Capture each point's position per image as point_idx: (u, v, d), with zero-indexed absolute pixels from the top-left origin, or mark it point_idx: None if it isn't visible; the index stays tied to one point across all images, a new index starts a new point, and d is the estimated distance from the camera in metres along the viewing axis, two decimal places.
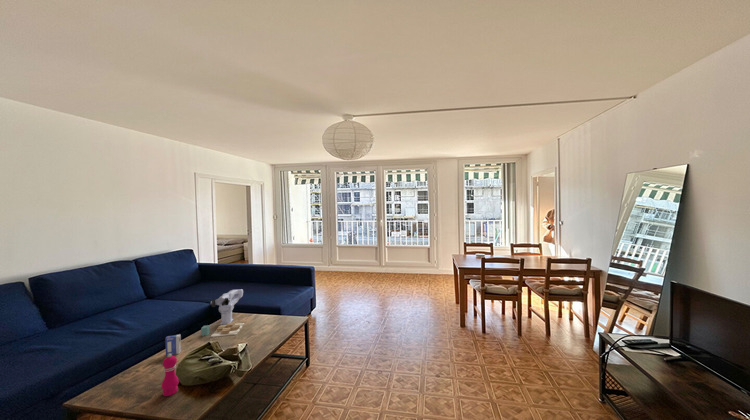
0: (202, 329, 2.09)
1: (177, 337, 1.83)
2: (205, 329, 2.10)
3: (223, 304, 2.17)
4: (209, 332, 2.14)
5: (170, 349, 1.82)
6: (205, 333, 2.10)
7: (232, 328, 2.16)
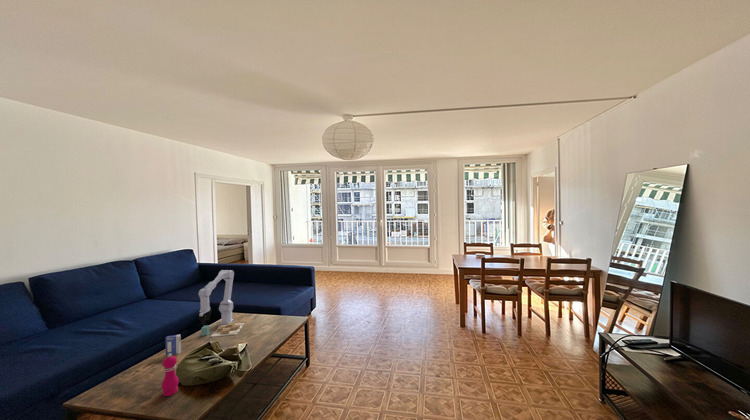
0: (202, 329, 2.09)
1: (177, 337, 1.83)
2: (205, 329, 2.10)
3: (203, 322, 2.07)
4: (209, 332, 2.14)
5: (170, 349, 1.82)
6: (205, 333, 2.10)
7: (232, 328, 2.16)
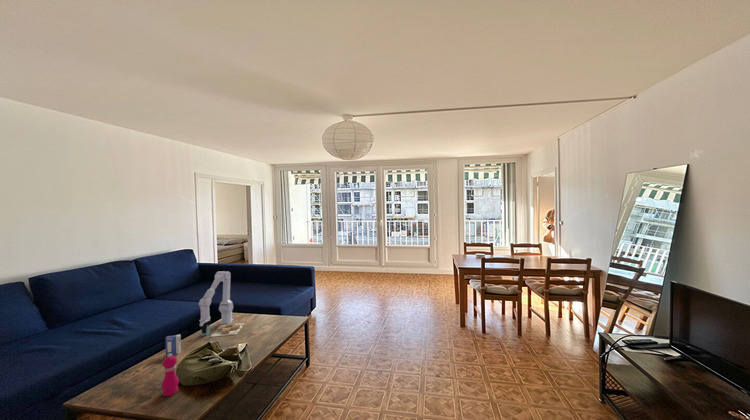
0: None
1: (177, 337, 1.83)
2: None
3: (204, 331, 2.09)
4: (209, 332, 2.14)
5: (170, 349, 1.82)
6: (205, 333, 2.10)
7: (232, 328, 2.16)
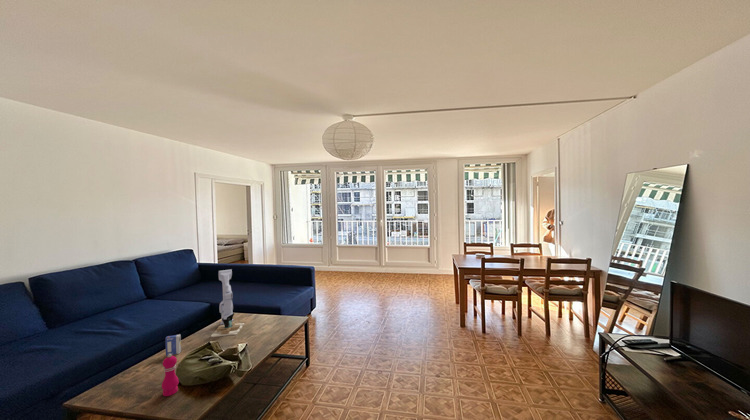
0: None
1: (177, 337, 1.83)
2: None
3: (227, 325, 2.14)
4: None
5: (170, 349, 1.82)
6: None
7: (232, 328, 2.16)
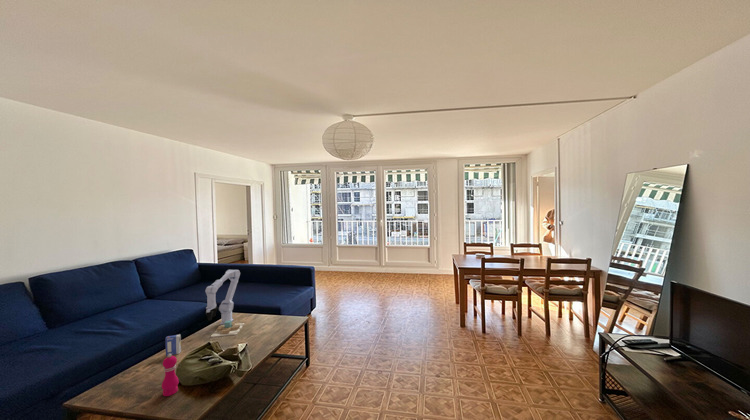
0: (225, 324, 2.16)
1: (177, 337, 1.83)
2: (228, 324, 2.16)
3: (210, 318, 2.15)
4: None
5: (170, 349, 1.82)
6: None
7: (232, 328, 2.16)
